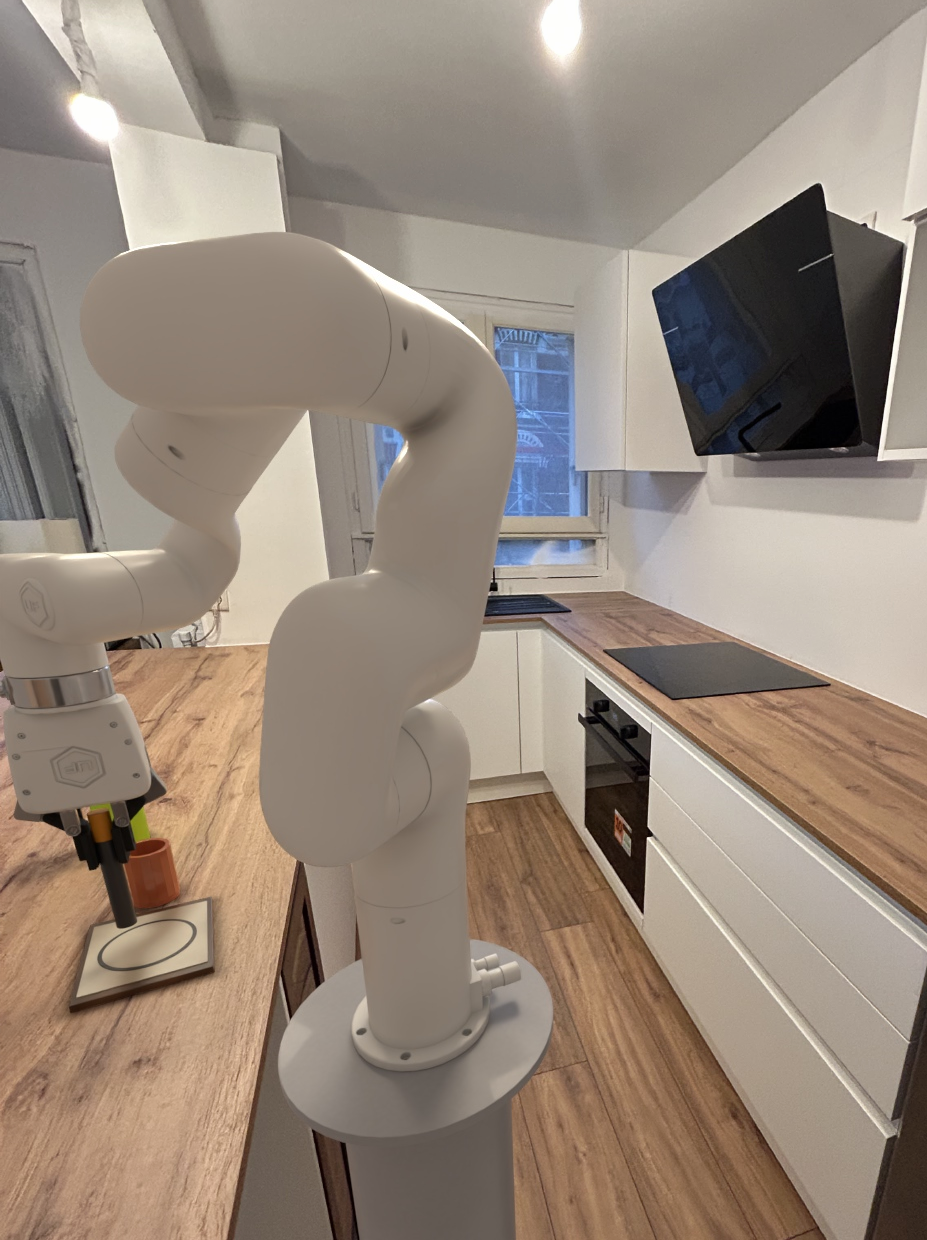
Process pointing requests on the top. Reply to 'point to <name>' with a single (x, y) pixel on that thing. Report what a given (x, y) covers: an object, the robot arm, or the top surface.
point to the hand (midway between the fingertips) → (110, 860)
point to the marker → (112, 868)
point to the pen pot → (152, 873)
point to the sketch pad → (145, 953)
